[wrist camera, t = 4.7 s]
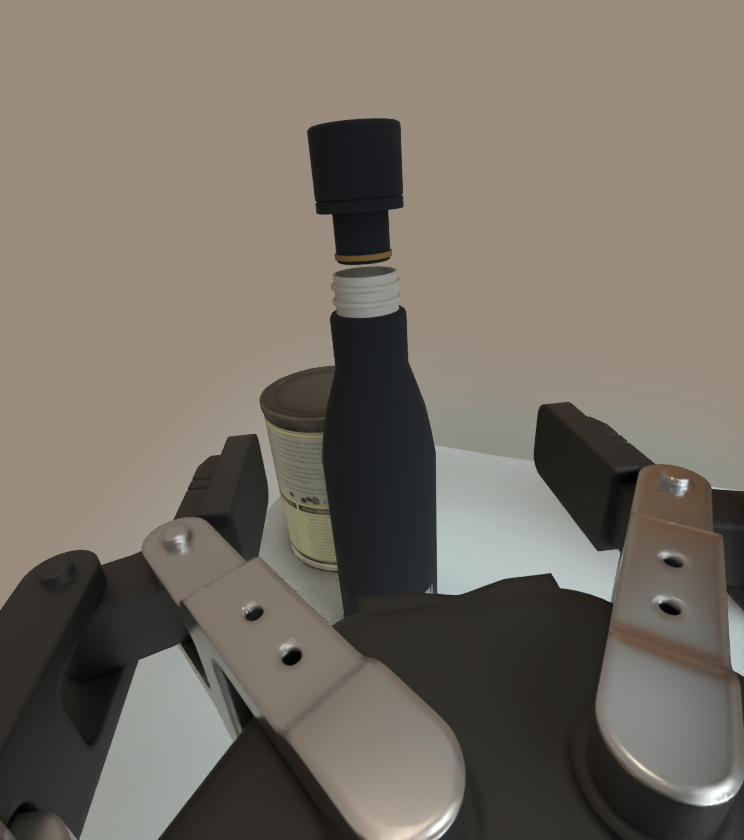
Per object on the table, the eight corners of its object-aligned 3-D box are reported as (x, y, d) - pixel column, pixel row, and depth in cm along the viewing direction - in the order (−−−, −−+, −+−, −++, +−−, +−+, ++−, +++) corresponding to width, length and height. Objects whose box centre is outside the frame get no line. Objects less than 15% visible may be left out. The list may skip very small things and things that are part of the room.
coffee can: (285, 508, 46) (258, 375, 39) (385, 488, 47) (376, 357, 41) (291, 585, 37) (259, 428, 30) (416, 557, 38) (410, 403, 32)
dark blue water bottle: (356, 586, 36) (302, 138, 22) (439, 593, 35) (435, 124, 21) (337, 661, 30) (249, 125, 17) (435, 672, 29) (426, 105, 16)
